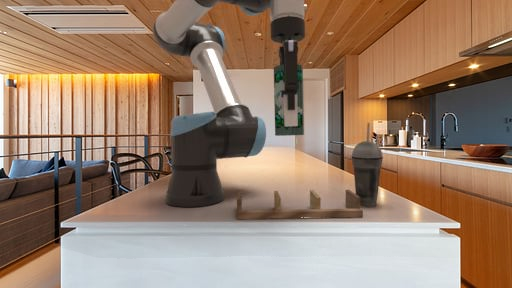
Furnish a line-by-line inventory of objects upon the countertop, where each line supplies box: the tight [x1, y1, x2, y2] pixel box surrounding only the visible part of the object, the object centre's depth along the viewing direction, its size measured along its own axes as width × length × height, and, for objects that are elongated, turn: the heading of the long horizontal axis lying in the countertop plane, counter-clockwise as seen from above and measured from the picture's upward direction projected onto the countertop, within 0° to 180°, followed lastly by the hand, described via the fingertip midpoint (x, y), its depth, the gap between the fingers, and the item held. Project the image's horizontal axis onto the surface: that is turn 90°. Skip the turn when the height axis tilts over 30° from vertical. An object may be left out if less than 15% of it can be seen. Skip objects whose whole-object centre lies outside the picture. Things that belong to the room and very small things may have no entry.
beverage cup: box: [351, 122, 384, 208], centre depth 74 cm, size 7×7×20 cm
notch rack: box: [236, 189, 364, 220], centre depth 68 cm, size 27×9×4 cm, turn 91°
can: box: [273, 63, 305, 137], centre depth 67 cm, size 6×6×15 cm
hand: (289, 126), depth 67 cm, fingers closed on can, 6 cm apart
